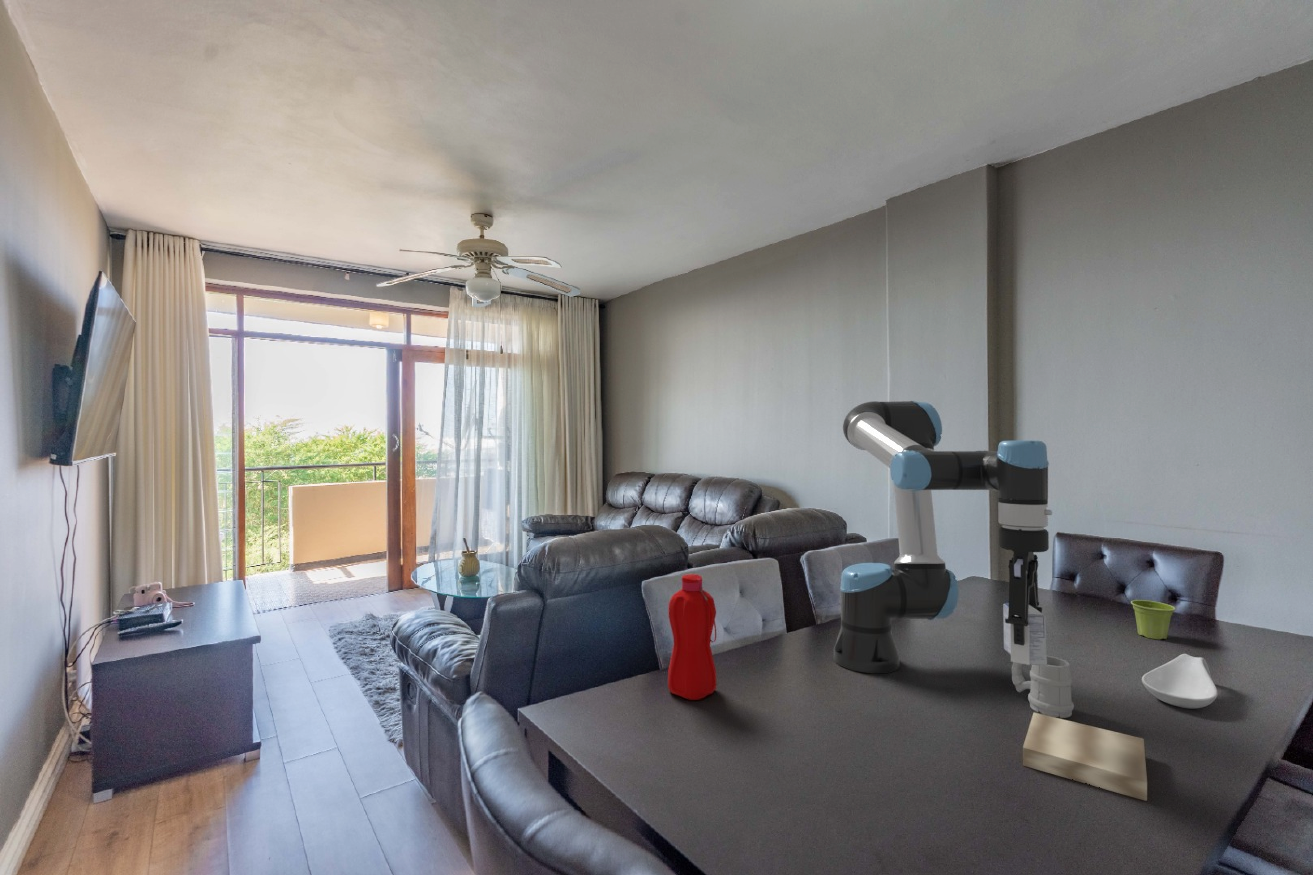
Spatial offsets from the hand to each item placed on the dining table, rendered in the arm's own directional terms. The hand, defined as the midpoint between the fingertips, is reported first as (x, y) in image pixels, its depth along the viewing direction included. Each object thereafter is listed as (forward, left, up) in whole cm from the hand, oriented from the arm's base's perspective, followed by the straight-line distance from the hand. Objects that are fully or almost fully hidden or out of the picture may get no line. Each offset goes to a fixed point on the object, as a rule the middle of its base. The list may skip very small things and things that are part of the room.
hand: (1024, 654), depth 106 cm
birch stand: (+9, +1, -16) cm, 18 cm away
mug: (+1, +21, -16) cm, 26 cm away
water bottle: (-58, -17, -16) cm, 63 cm away
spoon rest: (+24, +46, -17) cm, 55 cm away
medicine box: (0, 0, -1) cm, 1 cm away
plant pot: (+21, +90, -16) cm, 93 cm away
